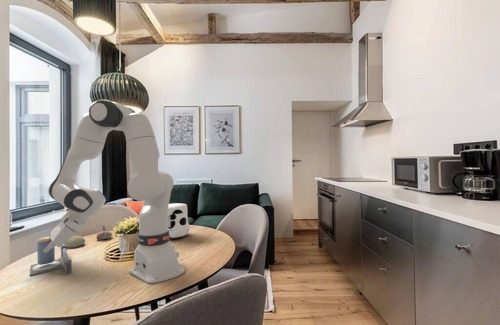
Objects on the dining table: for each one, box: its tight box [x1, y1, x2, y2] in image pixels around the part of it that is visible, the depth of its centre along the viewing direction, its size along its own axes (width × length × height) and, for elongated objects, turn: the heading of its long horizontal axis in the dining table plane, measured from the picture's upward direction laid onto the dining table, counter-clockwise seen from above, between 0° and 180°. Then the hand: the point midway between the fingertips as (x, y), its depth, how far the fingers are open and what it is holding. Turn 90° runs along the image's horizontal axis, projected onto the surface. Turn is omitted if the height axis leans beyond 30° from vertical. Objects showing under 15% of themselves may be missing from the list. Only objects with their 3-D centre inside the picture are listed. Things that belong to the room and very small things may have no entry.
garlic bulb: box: [96, 224, 113, 241], centre depth 141 cm, size 8×7×8 cm
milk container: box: [168, 202, 190, 240], centre depth 143 cm, size 17×17×18 cm
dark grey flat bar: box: [60, 244, 73, 276], centre depth 107 cm, size 26×2×5 cm, turn 40°
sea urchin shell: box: [63, 235, 86, 249], centre depth 131 cm, size 9×8×8 cm
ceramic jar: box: [36, 235, 56, 265], centre depth 103 cm, size 6×6×10 cm
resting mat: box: [29, 258, 63, 277], centre depth 103 cm, size 12×10×1 cm
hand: (44, 249), depth 103 cm, fingers closed on ceramic jar, 5 cm apart
